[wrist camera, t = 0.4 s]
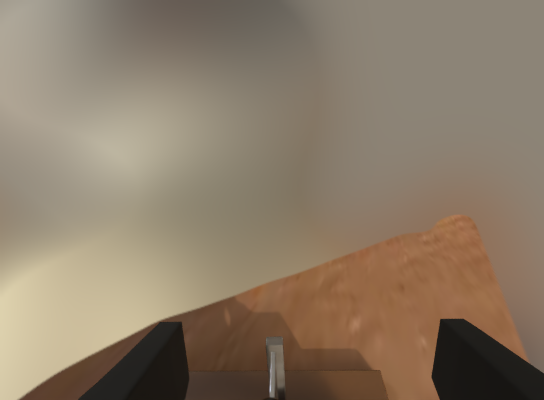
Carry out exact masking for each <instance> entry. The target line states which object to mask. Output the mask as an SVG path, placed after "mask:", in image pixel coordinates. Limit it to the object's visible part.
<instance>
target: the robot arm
mask: <svg viewBox="0 0 544 400" xmlns="http://www.w3.org/2000/svg"><path fill="white" fill-rule="evenodd" d="M189 379H190V378H189V371H188V364H187V357H186V350H185V343H184V335H183V328H182V322H160V323H159V324H158V325H157V326H156V327H155V328H154V329H153V330H152V331H151V332H149V333H148V334H147V335H146V336H145V337H144V338H143V339H142V340H141V341H140V342H139V343H138V344H137V345H136V346H135V347H134V348H133V349H132V350H131V351H130V352H129V353H128V354H127V355H126V356H125V357H124V358H123V359H122V360H121V361H120V362H119V363H117V364H116V365H115V366H114V367H113V368H112V369H111V370H110V371H109V372H108V373H107V374H106V375H105V376H104V377H103V378H102V379H100V380H99V381H98V382H97V383H96V384H95V385H94V386H93V387H92V388H90V389H89V390H88V391H87V392H86V393H85V394H84V395H82V396H81V397H80V398H79V399H78V400H185V398H186V393H187V389H188V384H189ZM432 380H433V383H434V385H435V388H436V390H437V393H438V396H439V398H440V400H544V373H542V372H541V371H539V370H538V369H536V368H535V367H534V366H532V365H531V364H529V363H528V362H526V361H525V360H523V359H522V358H520V357H519V356H518V355H516V354H515V353H513V352H512V351H510V350H509V349H507V348H506V347H505V346H503V345H502V344H500V343H499V342H497V341H496V340H494V339H493V338H492V337H490V336H489V335H487V334H486V333H484V332H483V331H481V330H480V329H478V328H477V327H475V326H474V325H472V324H471V323H469V322H468V321H466V320H464V319H440V326H439V332H438V338H437V345H436V351H435V358H434V364H433V371H432Z"/></svg>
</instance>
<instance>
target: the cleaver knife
mask: <svg viewBox="0 0 544 400" xmlns="http://www.w3.org/2000/svg"><path fill="white" fill-rule="evenodd" d="M263 400H279V399H278V381H277V365H276V352H271V370H270V397H267V398H264V399H263Z"/></svg>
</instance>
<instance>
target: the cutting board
mask: <svg viewBox="0 0 544 400" xmlns="http://www.w3.org/2000/svg"><path fill="white" fill-rule="evenodd" d="M271 352H276V365H277V381H278V399H279V400H389V399H388V396H387V392H386V389H385V385H384V382H383V378H382V375H381V371H380V370H342V371H284V351H283V337H267V338H266V353H267V365H268V371H189V378H190V379H189V384H188V389H187V393H186V398H185V400H263V399H264V398H267V397H270V370H271Z"/></svg>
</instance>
